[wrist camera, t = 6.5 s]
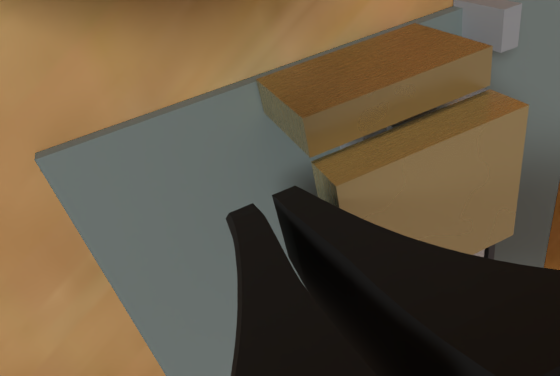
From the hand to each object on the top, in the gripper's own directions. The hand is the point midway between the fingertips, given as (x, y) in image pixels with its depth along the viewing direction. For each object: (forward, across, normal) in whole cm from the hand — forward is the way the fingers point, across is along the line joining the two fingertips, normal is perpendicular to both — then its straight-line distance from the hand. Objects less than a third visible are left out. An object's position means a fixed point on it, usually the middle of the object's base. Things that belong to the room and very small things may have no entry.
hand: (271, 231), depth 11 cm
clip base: (+3, -4, +6) cm, 8 cm away
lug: (+3, -4, 0) cm, 5 cm away
